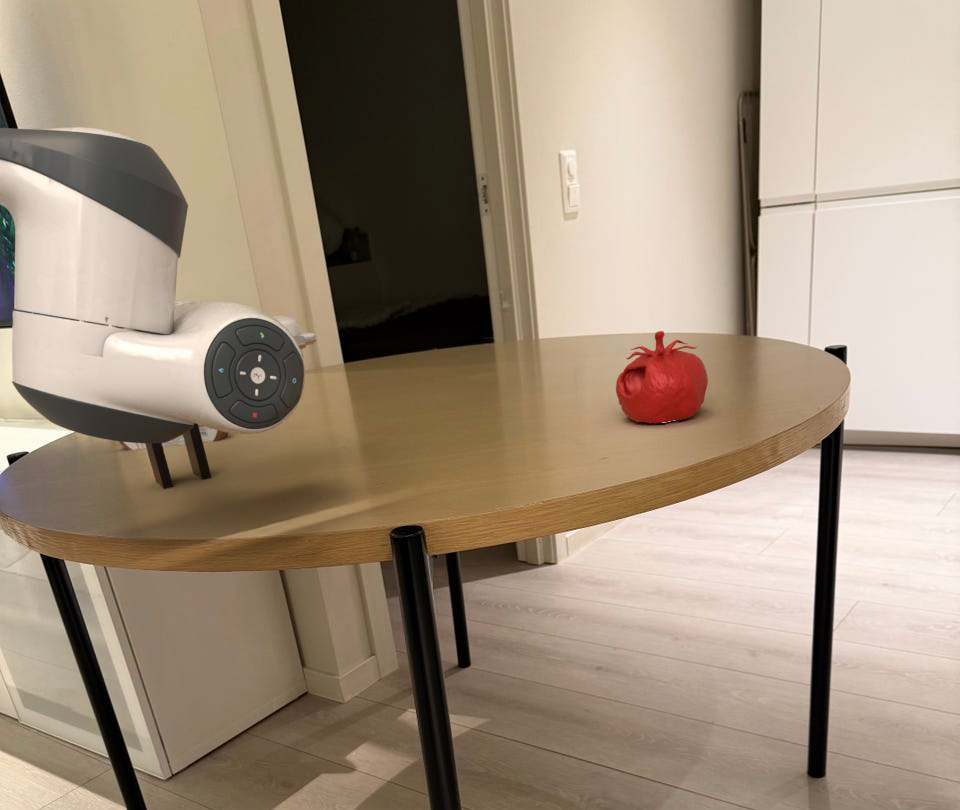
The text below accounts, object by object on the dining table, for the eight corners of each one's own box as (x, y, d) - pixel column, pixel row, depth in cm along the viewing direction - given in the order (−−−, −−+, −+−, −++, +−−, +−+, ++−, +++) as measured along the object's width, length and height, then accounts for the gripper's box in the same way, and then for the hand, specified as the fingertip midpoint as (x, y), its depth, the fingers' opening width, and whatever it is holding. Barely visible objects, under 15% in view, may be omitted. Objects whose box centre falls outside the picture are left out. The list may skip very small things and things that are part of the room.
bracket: (235, 491, 92) (196, 332, 86) (157, 509, 89) (111, 346, 82) (212, 475, 100) (175, 328, 94) (140, 491, 97) (96, 341, 90)
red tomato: (704, 404, 102) (703, 319, 98) (712, 423, 94) (711, 331, 90) (618, 412, 104) (613, 329, 100) (617, 431, 95) (612, 341, 91)
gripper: (316, 298, 73) (267, 298, 84) (52, 340, 65) (37, 333, 76) (331, 377, 75) (281, 366, 87) (79, 427, 67) (60, 408, 79)
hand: (165, 351), depth 81 cm, fingers closed, pressing on lever
